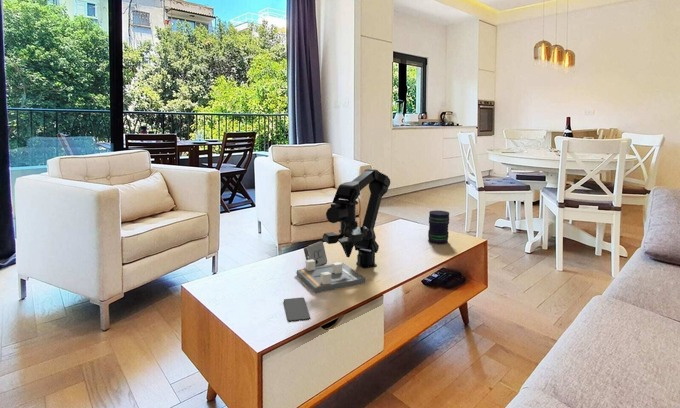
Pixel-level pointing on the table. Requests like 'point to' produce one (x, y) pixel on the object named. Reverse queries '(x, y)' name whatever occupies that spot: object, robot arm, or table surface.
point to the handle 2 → (326, 278)
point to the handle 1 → (310, 265)
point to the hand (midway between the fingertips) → (348, 257)
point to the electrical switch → (316, 253)
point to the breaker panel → (337, 280)
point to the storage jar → (438, 227)
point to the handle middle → (337, 267)
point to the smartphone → (296, 309)
